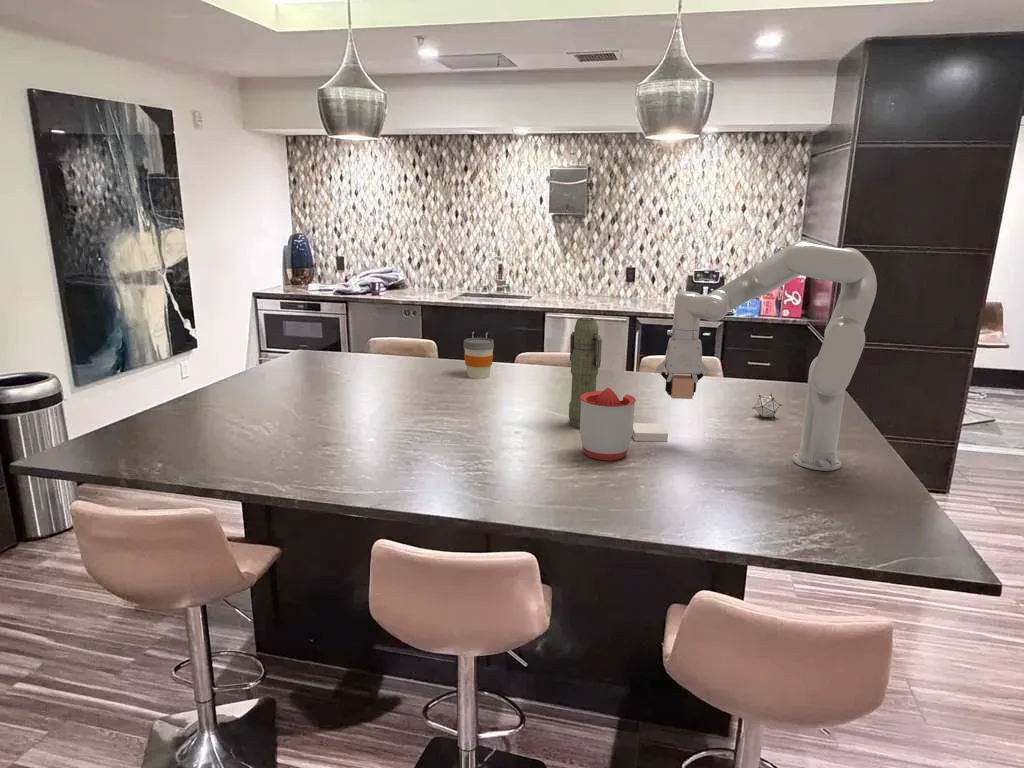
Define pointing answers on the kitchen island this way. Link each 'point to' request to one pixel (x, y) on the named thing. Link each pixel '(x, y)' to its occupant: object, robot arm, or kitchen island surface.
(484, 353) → the reusable coffee cup
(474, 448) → the kitchen island surface
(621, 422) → the citrus juicer
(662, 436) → the block
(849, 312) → the robot arm
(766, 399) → the game die
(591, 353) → the thermos
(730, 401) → the kitchen island surface
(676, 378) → the cube
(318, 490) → the kitchen island surface
